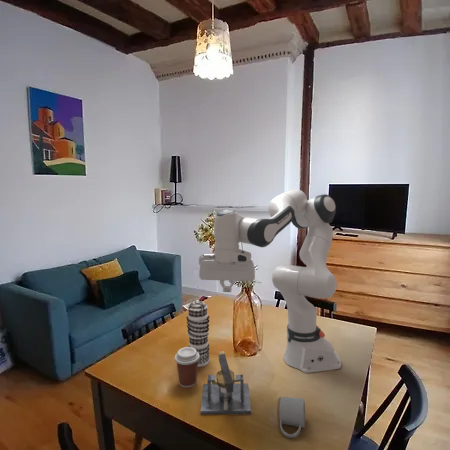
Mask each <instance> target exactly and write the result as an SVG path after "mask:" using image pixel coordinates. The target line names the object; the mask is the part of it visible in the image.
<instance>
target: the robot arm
mask: <svg viewBox="0 0 450 450" xmlns="http://www.w3.org/2000/svg"><path fill="white" fill-rule="evenodd" d="M336 209H337V205H336V202H335V200H334V199H333V197H331V196H330V195H329V194H326V193H325V194H319V195H317V196H314V197H313V198H311V199H308V198H307V195H306V193H305V192H304V191H302V190H301V189H297V188H295V189H291V190H287V191H284V192H282V193H280V194H278V195H276V196H275V197H273V198H272V199H271V200H270V201H269V203H268V213H269V216H270V217H269V218H256V217H248V216H244V215H242V214H240V213H239V212H237V210H236V209H232V208H228V209H227V208H226V209H222V210H219V211H218V212H217V213H216V214H215V216H214V223H213V224H214V225H213V232H214V233H213V234H214V239H215V242H214V254H213V253H212V254H205V253H204V254H202V255H200V256H199V257H198V264H199V275H198V277H199V278H200V280H202V281H203V280H204V281H219V283H220V286H221V287H222V292H223V293H232V290H233V289H232V287H233V285H234V284H235V282H253V281H254V280H255V279H256V278H255V277H256V271H255V265H254V261H253V260H252V253H251V252H249V251H246V250H243V249H240V245H239V243H243V244H248V245H253V246H255V247H259V248H266V247H268V246H270V245H271V243H272V242H273V241H274V240H275V238H276V236H277V235H278V234H279V233H281V232H282V231H284V230H285V228H286V227H288V226H289V225H290V224H292V226H294V227H295V228H296V229H301V230H304V229H308V231H307V234H306V236H305V238H304V240H303V243H302V245H301V248H300V250H299V259H300V261H301V262H303V264H304V265H306V266H300V265H292V264H284V265H278V266H276V267H275V269H273V272H272V275H271V282H272V284H273V286H274V288H276V289H277V291H278V292H279V293H280V294H281V295H282V297H283V299H284V302H285V303H286V308H287V316H288V317H287V326H286V347H285V353H284V355H283V360H284V362H285V363H286V364H287V365H288V366H291V367H292V368H295V369H297V370H299V371H302V372H303V373H305V374H308V373H318V372H325V371H333V370H339V369H341V367H342V361H341V358H340V357H339V355H338V354H337V353H336V352H335V349H334V346H333V344H332V343H331V342H330V341H329V340H328V339H326V338H325V337H326V335H325V333H324V331H322V329H321V328H320V327H319V326H318V325H317V309H316V307H315V306H314V304H312V303H311V302H309V301H308V299H307V298H306V297H310V298H316V299H330V298H331V297H333V296H334V294H335V292H337V287H338V285H337V284H338V283H337V279H336V277H335V275H334V274H333V273H332V272H331V271H330V270H329V268H328V266H327V259H328V255H329V252H330V249H331V246H332V243H333V238H334V237H333V234H334V230H333V227H332V226H331V225H330V224H331V223H332V222H333V220H334V219H335V215H336V211H337V210H336ZM225 281H229V284H230V285H226V284H225Z"/></svg>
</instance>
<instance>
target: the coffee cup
mask: <svg viewBox="0 0 450 450" xmlns="http://www.w3.org/2000/svg"><path fill="white" fill-rule="evenodd" d="M199 358H200V355H199V353H198V352H197V351H196V349H194V348H192V347H188V346H185V347H182V348H179V349H178V350H177V353H176V354H175V355H174V362H176V366H177V368H176V369H177V375H178V383H179V385H180V386H181V387H182V388H191V387H192V388H193V387H194V386H195V385H197V382H198V368H199V367H198V360H199Z"/></svg>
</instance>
